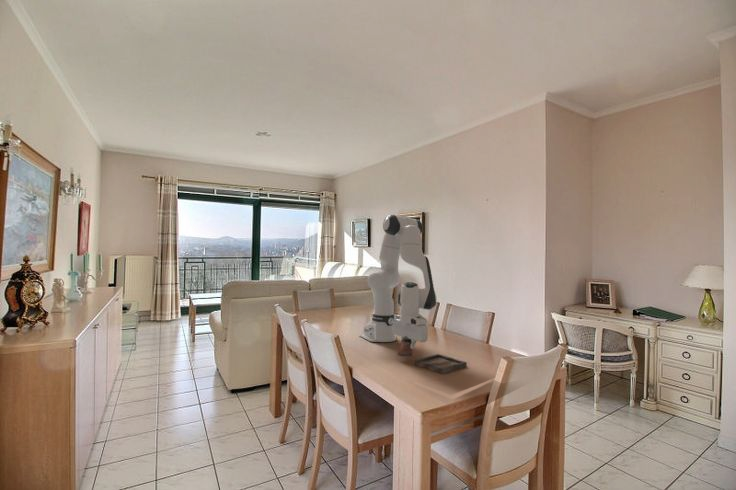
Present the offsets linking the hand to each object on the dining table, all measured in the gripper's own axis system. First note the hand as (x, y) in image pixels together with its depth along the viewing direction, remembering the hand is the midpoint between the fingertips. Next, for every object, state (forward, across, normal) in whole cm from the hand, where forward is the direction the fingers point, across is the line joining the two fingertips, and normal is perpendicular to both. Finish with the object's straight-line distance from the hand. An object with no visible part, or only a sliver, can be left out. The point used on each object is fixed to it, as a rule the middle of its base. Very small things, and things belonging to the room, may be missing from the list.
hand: (408, 347), depth 163 cm
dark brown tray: (+6, +14, +7) cm, 16 cm away
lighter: (+4, -3, 0) cm, 5 cm away
